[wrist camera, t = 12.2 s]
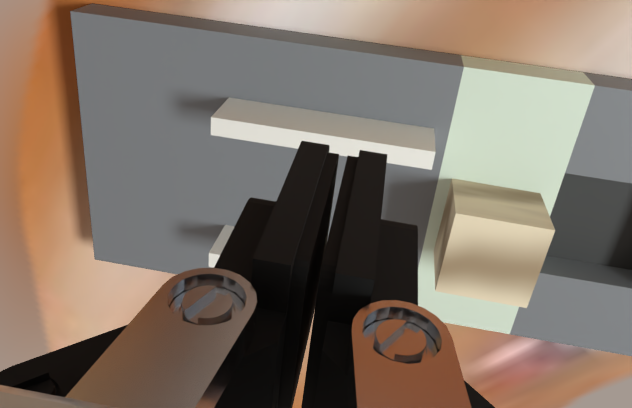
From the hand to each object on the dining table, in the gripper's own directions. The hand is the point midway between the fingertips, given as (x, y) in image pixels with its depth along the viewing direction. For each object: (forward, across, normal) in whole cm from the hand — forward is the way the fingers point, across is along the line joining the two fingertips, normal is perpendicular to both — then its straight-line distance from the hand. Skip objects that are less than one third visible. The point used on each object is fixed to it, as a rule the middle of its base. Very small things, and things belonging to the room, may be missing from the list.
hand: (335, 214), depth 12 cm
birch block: (+27, -9, +15) cm, 32 cm away
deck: (+30, -2, +15) cm, 33 cm away
